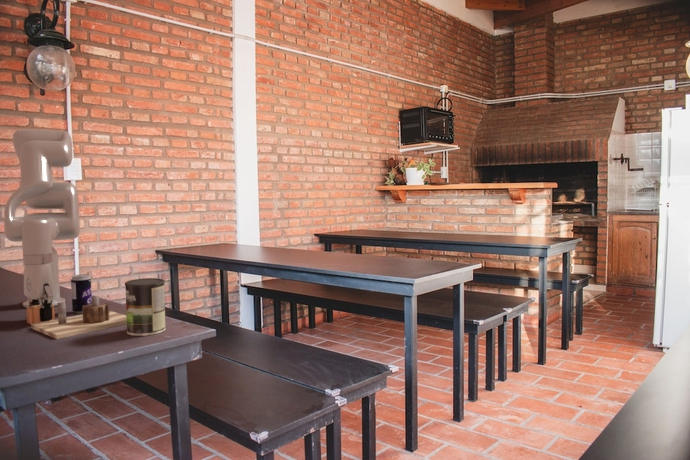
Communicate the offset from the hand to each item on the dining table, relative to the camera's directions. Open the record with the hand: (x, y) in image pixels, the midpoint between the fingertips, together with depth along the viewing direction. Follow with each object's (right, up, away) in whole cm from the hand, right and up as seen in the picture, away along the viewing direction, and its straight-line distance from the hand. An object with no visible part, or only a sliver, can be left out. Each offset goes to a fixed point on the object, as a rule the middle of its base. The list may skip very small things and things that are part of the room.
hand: (41, 318), depth 154 cm
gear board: (+15, -1, -5) cm, 16 cm away
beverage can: (+7, 0, +12) cm, 13 cm away
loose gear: (0, -1, 0) cm, 1 cm away
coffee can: (+36, -2, -11) cm, 38 cm away
